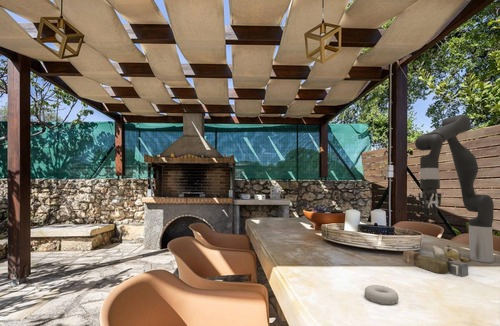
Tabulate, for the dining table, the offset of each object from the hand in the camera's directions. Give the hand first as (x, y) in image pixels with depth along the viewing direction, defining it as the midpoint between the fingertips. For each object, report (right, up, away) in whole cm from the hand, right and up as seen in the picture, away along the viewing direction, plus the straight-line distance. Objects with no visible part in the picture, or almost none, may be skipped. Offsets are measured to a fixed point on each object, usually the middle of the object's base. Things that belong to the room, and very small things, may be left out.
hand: (430, 216), depth 123 cm
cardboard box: (-3, -24, +9) cm, 26 cm away
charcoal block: (+7, -23, -7) cm, 25 cm away
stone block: (-1, -24, -2) cm, 24 cm away
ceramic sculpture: (+16, -25, +10) cm, 31 cm away
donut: (-39, -20, -35) cm, 56 cm away
